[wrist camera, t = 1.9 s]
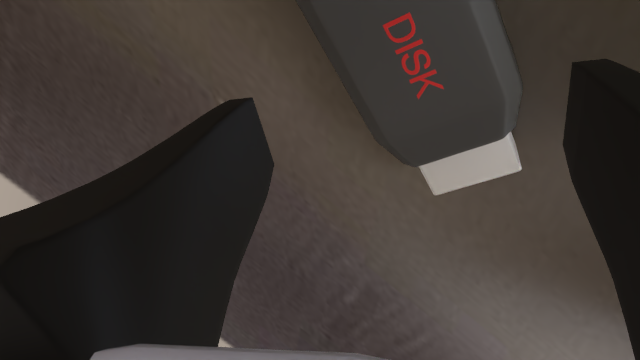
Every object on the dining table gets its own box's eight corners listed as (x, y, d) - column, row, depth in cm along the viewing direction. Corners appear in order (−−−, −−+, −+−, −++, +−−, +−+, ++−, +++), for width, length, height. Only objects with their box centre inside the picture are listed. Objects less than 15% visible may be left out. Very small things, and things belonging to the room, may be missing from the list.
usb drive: (414, -233, 12) (411, -239, 10) (540, 130, 18) (555, 174, 16) (254, -118, 14) (224, -104, 12) (411, 171, 20) (409, 215, 18)
